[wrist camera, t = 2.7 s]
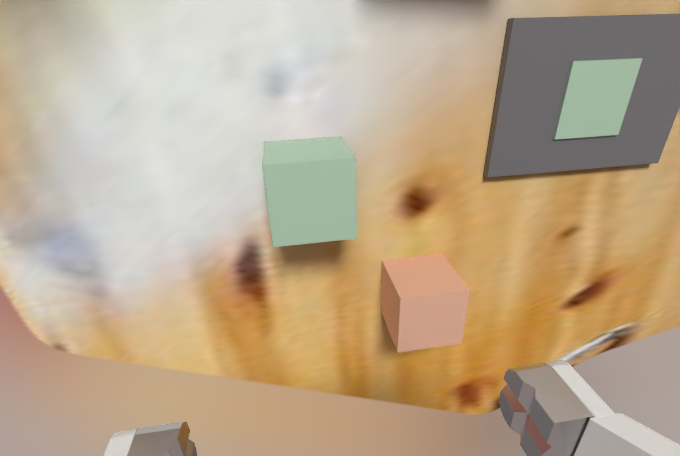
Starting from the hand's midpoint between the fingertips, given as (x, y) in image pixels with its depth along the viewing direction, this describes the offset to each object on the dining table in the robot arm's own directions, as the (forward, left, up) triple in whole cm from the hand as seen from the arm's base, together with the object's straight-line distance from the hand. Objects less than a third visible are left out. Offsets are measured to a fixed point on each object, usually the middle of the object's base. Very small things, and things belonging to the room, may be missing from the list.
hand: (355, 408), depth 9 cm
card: (-20, -4, -18) cm, 27 cm away
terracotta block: (-8, +10, -18) cm, 22 cm away
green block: (0, 0, -18) cm, 18 cm away
